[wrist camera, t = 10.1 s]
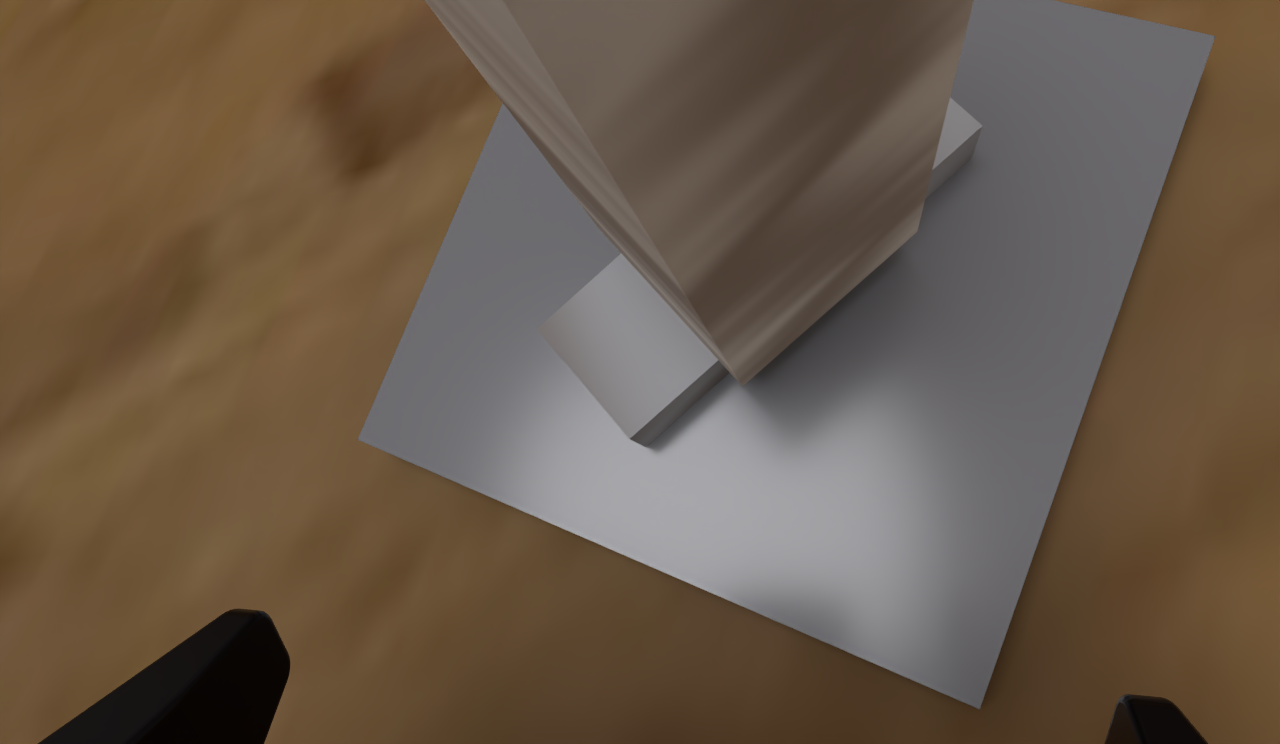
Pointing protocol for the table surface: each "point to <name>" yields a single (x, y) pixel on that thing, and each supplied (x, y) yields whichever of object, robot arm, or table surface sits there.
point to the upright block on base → (723, 167)
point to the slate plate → (833, 363)
